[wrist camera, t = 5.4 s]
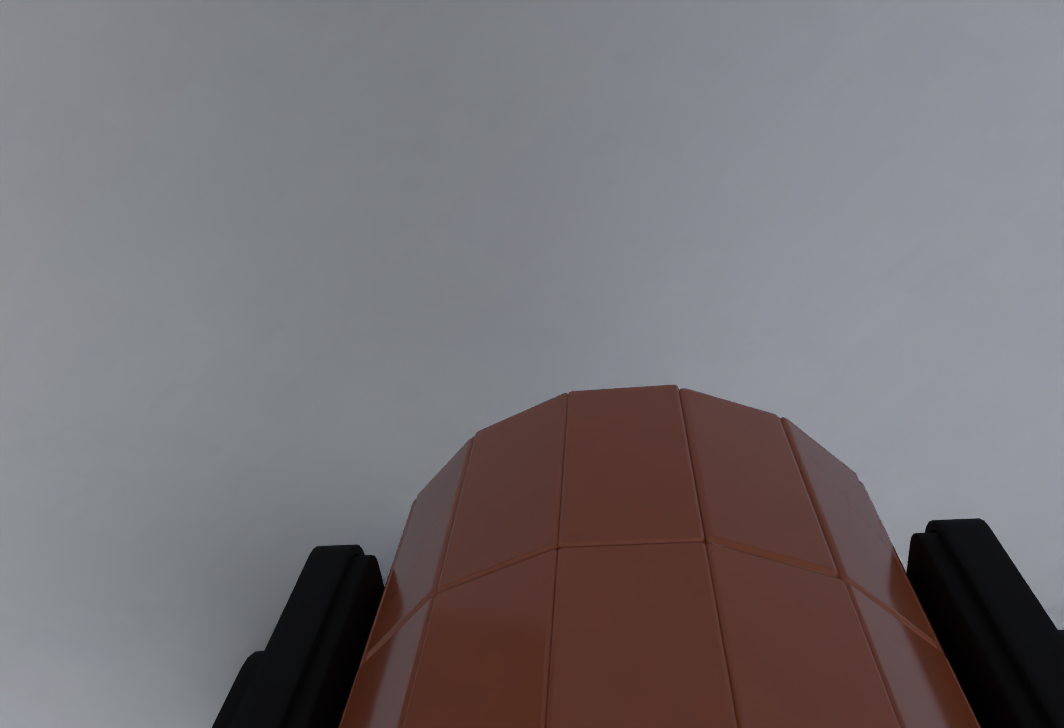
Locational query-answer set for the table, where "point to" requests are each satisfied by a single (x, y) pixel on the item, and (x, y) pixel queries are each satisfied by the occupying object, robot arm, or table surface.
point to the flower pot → (649, 582)
